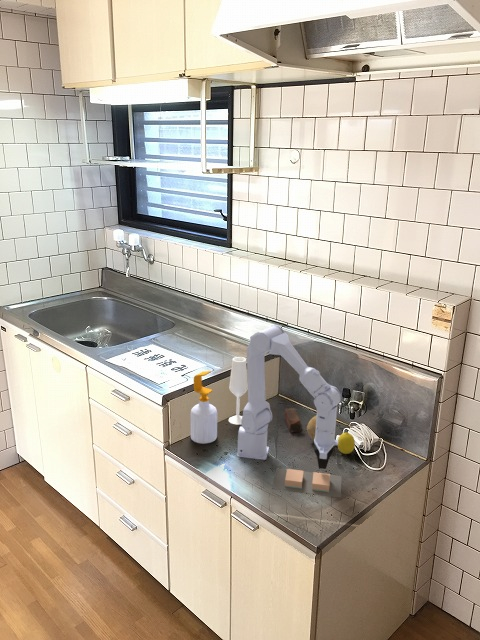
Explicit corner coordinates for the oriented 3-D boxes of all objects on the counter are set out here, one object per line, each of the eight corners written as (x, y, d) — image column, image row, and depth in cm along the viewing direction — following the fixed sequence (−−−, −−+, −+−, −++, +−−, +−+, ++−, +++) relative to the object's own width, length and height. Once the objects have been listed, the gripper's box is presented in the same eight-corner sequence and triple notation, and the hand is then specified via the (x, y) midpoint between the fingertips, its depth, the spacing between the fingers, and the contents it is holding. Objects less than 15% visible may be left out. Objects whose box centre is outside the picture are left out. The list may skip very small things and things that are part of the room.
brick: (283, 419, 206) (284, 408, 205) (294, 418, 207) (294, 407, 205) (289, 433, 196) (290, 421, 195) (300, 433, 197) (301, 421, 195)
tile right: (313, 478, 169) (311, 489, 164) (313, 472, 169) (312, 483, 163) (329, 480, 168) (329, 492, 163) (330, 474, 168) (329, 485, 162)
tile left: (286, 475, 171) (284, 486, 165) (287, 468, 170) (285, 479, 164) (303, 477, 170) (301, 488, 164) (303, 470, 169) (302, 482, 164)
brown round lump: (300, 437, 194) (302, 411, 191) (323, 433, 197) (325, 408, 194) (313, 450, 186) (315, 423, 182) (336, 446, 189) (339, 419, 186)
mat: (272, 489, 164) (272, 488, 164) (276, 469, 174) (276, 468, 174) (340, 498, 161) (341, 497, 161) (341, 477, 171) (341, 476, 171)
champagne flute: (234, 426, 200) (236, 364, 193) (225, 418, 206) (226, 357, 198) (250, 421, 204) (252, 360, 196) (240, 414, 209) (242, 354, 202)
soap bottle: (207, 447, 186) (207, 379, 179) (185, 439, 191) (185, 372, 183) (222, 435, 193) (223, 370, 186) (200, 428, 198) (200, 364, 190)
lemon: (353, 459, 181) (355, 437, 178) (336, 457, 182) (338, 435, 179) (353, 450, 186) (355, 429, 184) (336, 448, 187) (338, 427, 185)
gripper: (338, 441, 156) (335, 482, 161) (339, 417, 170) (336, 456, 174) (313, 438, 158) (310, 479, 162) (316, 414, 171) (313, 453, 175)
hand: (322, 467), depth 168 cm, fingers closed
